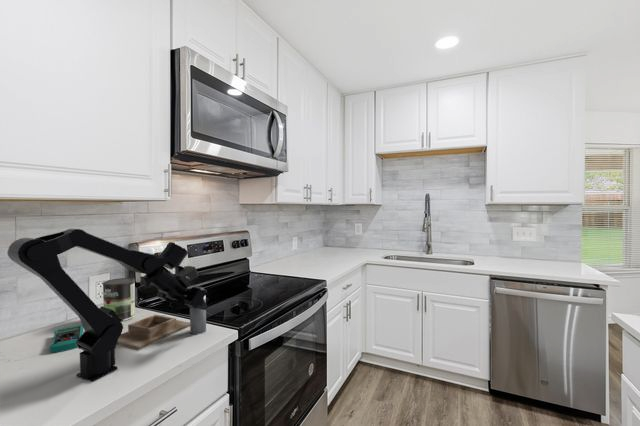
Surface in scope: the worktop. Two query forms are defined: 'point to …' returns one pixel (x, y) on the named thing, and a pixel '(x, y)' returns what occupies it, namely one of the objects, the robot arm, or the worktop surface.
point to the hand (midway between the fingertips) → (197, 306)
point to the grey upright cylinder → (197, 320)
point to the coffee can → (120, 297)
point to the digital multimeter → (66, 339)
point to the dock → (150, 331)
